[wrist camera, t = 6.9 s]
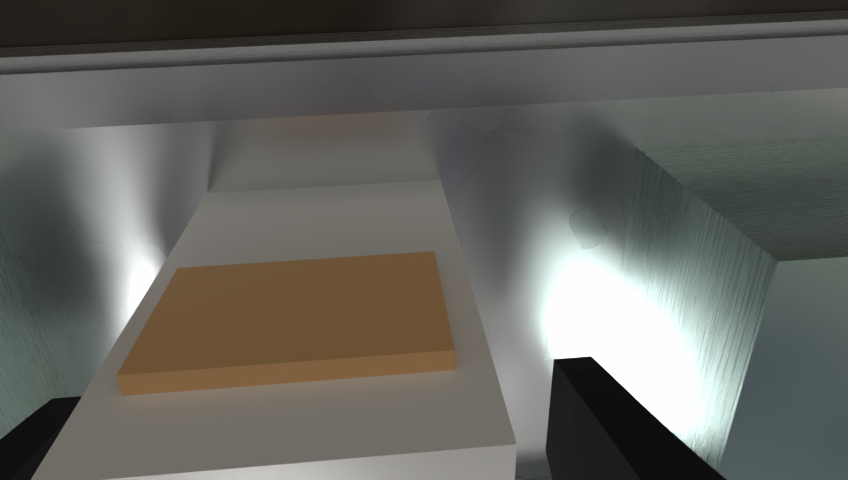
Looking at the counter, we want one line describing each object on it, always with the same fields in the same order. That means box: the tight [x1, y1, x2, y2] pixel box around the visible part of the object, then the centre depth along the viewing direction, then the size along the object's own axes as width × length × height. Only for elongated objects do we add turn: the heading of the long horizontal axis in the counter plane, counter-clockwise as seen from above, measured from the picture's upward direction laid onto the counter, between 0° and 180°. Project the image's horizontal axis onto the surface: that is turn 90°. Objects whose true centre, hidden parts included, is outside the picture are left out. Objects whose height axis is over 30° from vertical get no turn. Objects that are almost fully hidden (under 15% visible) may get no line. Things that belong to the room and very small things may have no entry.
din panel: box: [0, 10, 848, 480], centre depth 10 cm, size 22×11×5 cm, turn 92°
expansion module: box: [31, 180, 517, 480], centre depth 9 cm, size 4×7×6 cm, turn 2°
